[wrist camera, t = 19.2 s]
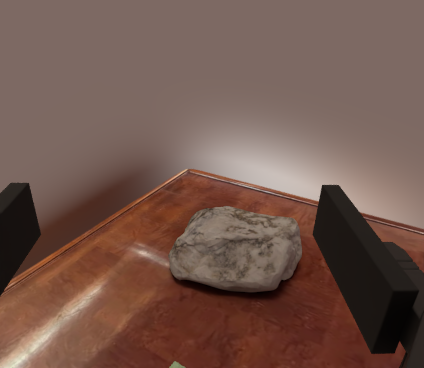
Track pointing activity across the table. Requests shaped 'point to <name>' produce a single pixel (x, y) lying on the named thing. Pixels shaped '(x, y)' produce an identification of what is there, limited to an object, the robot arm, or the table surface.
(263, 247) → the decorative stone
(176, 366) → the bin
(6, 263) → the robot arm
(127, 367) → the table surface
